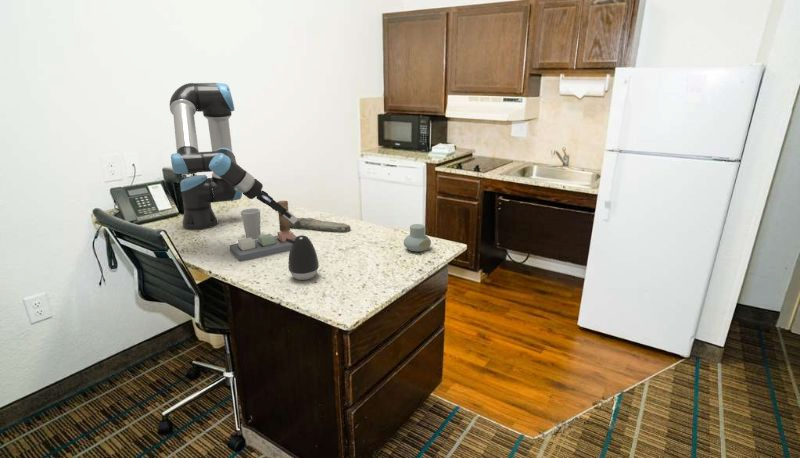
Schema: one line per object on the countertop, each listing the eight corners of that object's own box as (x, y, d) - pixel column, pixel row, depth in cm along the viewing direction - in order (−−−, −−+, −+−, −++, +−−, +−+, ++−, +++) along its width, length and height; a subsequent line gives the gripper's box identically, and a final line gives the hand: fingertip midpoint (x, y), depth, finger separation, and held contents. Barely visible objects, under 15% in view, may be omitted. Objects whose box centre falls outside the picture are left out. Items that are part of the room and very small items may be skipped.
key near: (238, 246, 170) (237, 239, 169) (251, 244, 173) (250, 237, 172) (242, 250, 166) (241, 243, 165) (255, 247, 169) (254, 240, 168)
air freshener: (418, 243, 180) (419, 220, 177) (433, 248, 175) (434, 225, 172) (400, 250, 173) (400, 226, 170) (415, 255, 168) (415, 231, 164)
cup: (257, 240, 184) (254, 213, 180) (240, 239, 186) (236, 212, 182) (266, 234, 192) (263, 208, 188) (249, 233, 193) (246, 207, 189)
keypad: (229, 250, 173) (229, 245, 172) (291, 238, 187) (290, 232, 186) (240, 261, 162) (239, 255, 161) (304, 247, 176) (304, 241, 176)
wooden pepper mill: (278, 229, 177) (275, 201, 173) (287, 228, 179) (285, 200, 176) (282, 232, 174) (279, 203, 170) (291, 230, 176) (289, 202, 172)
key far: (277, 238, 179) (277, 232, 178) (289, 236, 182) (288, 229, 181) (282, 242, 175) (281, 235, 174) (294, 239, 178) (293, 232, 177)
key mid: (258, 242, 174) (258, 235, 174) (270, 240, 177) (270, 233, 176) (262, 246, 171) (262, 239, 170) (275, 243, 173) (274, 236, 172)
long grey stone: (345, 238, 192) (353, 232, 201) (345, 226, 191) (354, 221, 200) (276, 227, 201) (287, 222, 210) (276, 216, 200) (287, 211, 209)
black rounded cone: (291, 271, 153) (287, 231, 149) (320, 270, 154) (318, 230, 149) (286, 284, 144) (282, 241, 139) (318, 282, 145) (315, 240, 140)
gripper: (235, 189, 169) (280, 222, 183) (249, 197, 156) (295, 232, 170) (247, 174, 171) (291, 208, 185) (262, 181, 157) (307, 217, 172)
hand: (293, 219), depth 178 cm, fingers closed on wooden pepper mill, 4 cm apart
